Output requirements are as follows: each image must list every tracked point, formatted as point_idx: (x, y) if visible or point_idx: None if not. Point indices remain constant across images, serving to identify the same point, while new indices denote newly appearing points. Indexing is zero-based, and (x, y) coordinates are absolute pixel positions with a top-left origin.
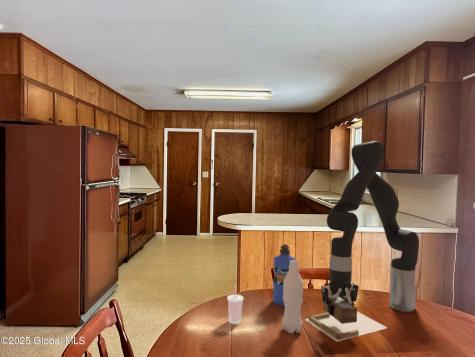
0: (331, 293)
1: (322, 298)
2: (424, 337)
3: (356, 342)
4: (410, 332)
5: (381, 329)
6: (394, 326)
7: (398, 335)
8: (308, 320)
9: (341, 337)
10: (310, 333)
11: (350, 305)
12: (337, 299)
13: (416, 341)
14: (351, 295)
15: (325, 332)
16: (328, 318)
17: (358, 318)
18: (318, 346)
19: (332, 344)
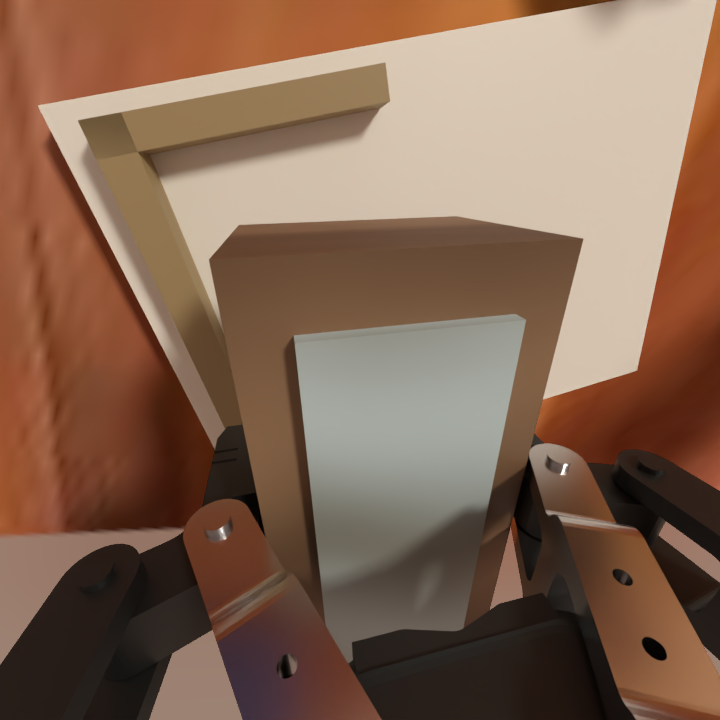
0: (274, 700)
1: (20, 636)
2: (700, 423)
3: None
4: (699, 381)
5: (590, 383)
6: (701, 315)
7: (624, 402)
8: (84, 151)
9: None
10: (85, 336)
11: (461, 617)
12: (419, 477)
13: (639, 449)
14: (683, 520)
15: (201, 394)
16: (343, 154)
17: (592, 216)
18: (110, 484)
19: None
